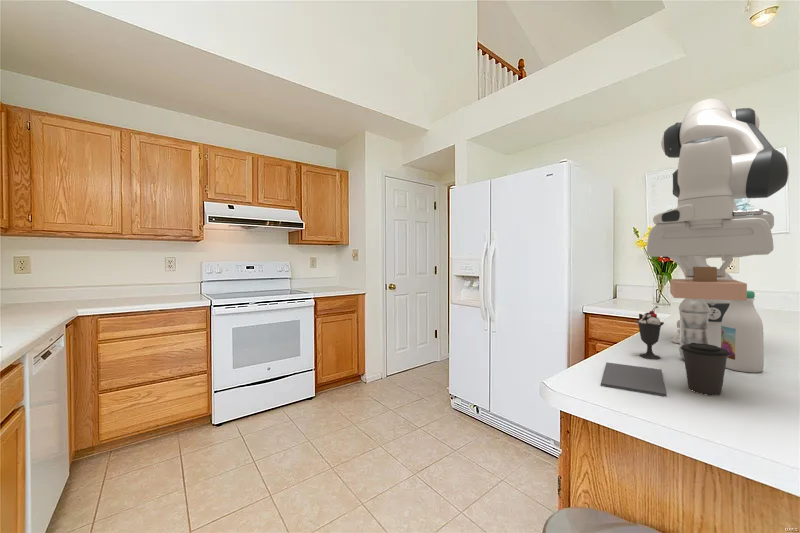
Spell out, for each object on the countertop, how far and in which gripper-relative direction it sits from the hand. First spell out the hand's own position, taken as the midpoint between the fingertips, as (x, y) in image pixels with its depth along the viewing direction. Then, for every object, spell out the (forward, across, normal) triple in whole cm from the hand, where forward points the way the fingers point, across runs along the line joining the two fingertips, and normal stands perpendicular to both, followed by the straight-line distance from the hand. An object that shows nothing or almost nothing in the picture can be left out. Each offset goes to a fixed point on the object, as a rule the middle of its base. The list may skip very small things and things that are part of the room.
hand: (704, 277), depth 74 cm
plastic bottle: (+25, -1, -25) cm, 35 cm away
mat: (+25, +13, -1) cm, 28 cm away
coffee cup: (+25, 0, 0) cm, 25 cm away
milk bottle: (+25, -10, -23) cm, 35 cm away
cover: (+2, 0, 0) cm, 2 cm away
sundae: (+25, +9, -24) cm, 36 cm away
